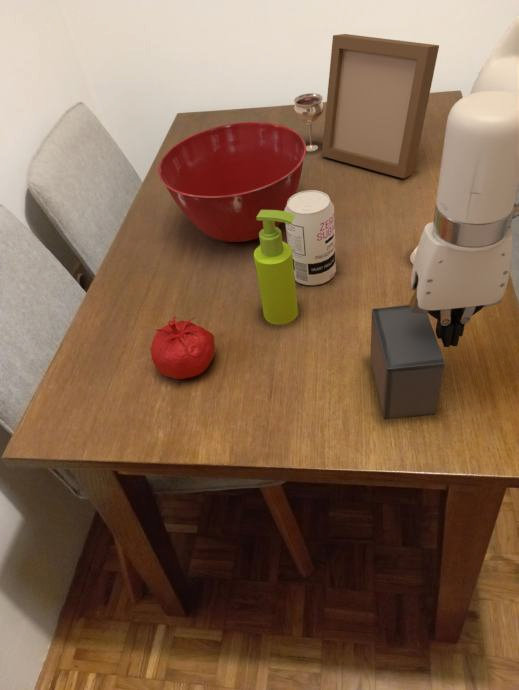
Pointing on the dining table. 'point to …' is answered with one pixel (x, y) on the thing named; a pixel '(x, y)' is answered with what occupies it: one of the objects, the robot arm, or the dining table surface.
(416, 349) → the grey open box
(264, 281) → the soap dispenser
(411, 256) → the white jar
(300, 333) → the dining table surface
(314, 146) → the wineglass
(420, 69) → the photo frame
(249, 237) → the mixing bowl
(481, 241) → the robot arm
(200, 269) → the dining table surface
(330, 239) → the supplement can
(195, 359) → the red tomato
